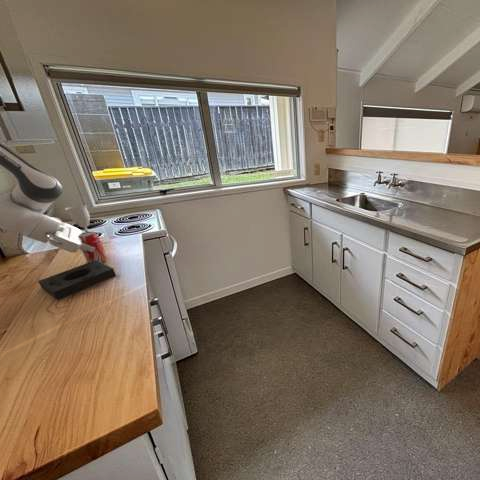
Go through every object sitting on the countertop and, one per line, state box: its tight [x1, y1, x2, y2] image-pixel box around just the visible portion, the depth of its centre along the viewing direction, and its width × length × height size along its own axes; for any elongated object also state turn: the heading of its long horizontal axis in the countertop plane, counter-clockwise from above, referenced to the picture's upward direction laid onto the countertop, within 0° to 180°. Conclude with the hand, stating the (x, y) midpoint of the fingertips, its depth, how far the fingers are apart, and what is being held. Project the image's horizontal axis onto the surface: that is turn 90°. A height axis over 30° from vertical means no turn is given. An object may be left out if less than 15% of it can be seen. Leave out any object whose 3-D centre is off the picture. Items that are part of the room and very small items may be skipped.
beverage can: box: [78, 231, 108, 264], centre depth 99 cm, size 6×6×12 cm
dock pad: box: [37, 260, 117, 301], centre depth 88 cm, size 16×14×3 cm
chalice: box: [65, 204, 91, 233], centre depth 116 cm, size 7×7×18 cm
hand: (94, 246), depth 99 cm, fingers closed on beverage can, 6 cm apart
